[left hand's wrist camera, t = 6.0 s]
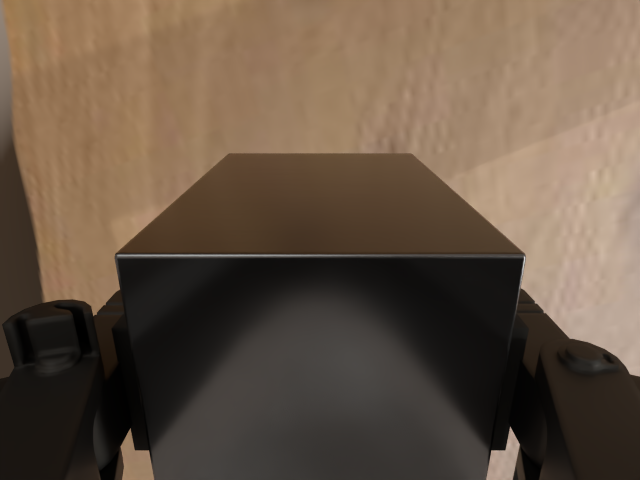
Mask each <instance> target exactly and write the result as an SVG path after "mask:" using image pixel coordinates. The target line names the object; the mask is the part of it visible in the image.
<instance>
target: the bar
mask: <svg viewBox="0 0 640 480" xmlns="http://www.w3.org/2000/svg"><path fill="white" fill-rule="evenodd" d="M525 260H526V256H525V253H524V252H523V251H521V250H520V249H519V248H518V247H517V246H516V245H515V244H513V243H512V242H511V241H510V240H509V239H508V238H507V237H506V236H504V235H503V234H502V233H501V232H500V231H499V230H498V229H496V228H495V227H494V226H493V225H492V224H491V223H490V222H489V221H487V220H486V219H485V218H484V217H483V216H482V215H481V214H479V213H478V212H477V211H476V210H475V209H474V208H473V207H472V206H470V205H469V204H468V203H467V202H466V201H465V200H464V199H463V198H461V197H460V196H459V195H458V194H457V193H456V192H455V191H453V190H452V189H451V188H450V187H449V186H448V185H447V184H446V183H444V182H443V181H442V180H441V179H440V178H439V177H438V176H436V175H435V174H434V173H433V172H432V171H431V170H430V169H429V168H427V167H426V166H425V165H424V164H423V163H422V162H421V161H419V160H418V159H417V158H416V157H415V156H414V155H413V154H228V155H226V156H225V157H224V158H223V159H222V160H221V161H220V162H219V163H217V164H216V165H215V166H214V167H213V168H212V169H211V170H210V171H208V172H207V173H206V174H205V175H204V176H203V177H202V178H200V179H199V180H198V181H197V182H196V183H195V184H194V185H193V186H191V187H190V188H189V189H188V190H187V191H186V192H185V193H184V194H182V195H181V196H180V197H179V198H178V199H177V200H176V201H174V202H173V203H172V204H171V205H170V206H169V207H168V208H167V209H165V210H164V211H163V212H162V213H161V214H160V215H159V216H158V217H156V218H155V219H154V220H153V221H152V222H151V223H150V224H148V225H147V226H146V227H145V228H144V229H143V230H142V231H141V232H139V233H138V234H137V235H136V236H135V237H134V238H133V239H132V240H130V241H129V242H128V243H127V244H126V245H125V246H124V247H122V248H121V249H120V250H119V251H118V252H117V253H116V254H115V262H116V268H117V274H118V279H119V285H120V290H121V296H122V302H123V307H124V313H125V318H126V324H127V329H128V335H129V341H130V346H131V352H132V357H133V363H134V368H135V374H136V380H137V385H138V391H139V396H140V402H141V407H142V413H143V419H144V424H145V430H146V435H147V441H148V447H149V452H150V458H151V463H152V469H153V474H154V480H486V477H487V471H488V466H489V460H490V455H491V449H492V443H493V438H494V432H495V427H496V421H497V416H498V410H499V405H500V399H501V393H502V388H503V382H504V377H505V371H506V366H507V360H508V355H509V349H510V343H511V338H512V332H513V327H514V321H515V316H516V310H517V305H518V299H519V293H520V288H521V282H522V277H523V271H524V266H525Z"/></svg>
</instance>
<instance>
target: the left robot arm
mask: <svg viewBox="0 0 640 480" xmlns="http://www.w3.org/2000/svg"><path fill="white" fill-rule="evenodd" d="M2 326H3V329H4V332H5V336H6V339H7V343H8V346H9V350H10V353H11V356H12V360H13V363H14V369H13V371H12V373H11V374H10V376H9V377H7V378H2V379H0V480H122V476H123V469H124V464H123V457H122V452H121V447H120V446H121V445H122V443H123V441H124V439H125V437H126V435H127V433H128V431H129V430H130V428H131V432H132V438H133V443H134V448H135V450H149V447H148V441H147V435H146V430H145V424H144V419H143V413H142V407H141V402H140V396H139V391H138V385H137V380H136V374H135V368H134V363H133V357H132V352H131V346H130V341H129V335H128V329H127V324H126V318H125V313H124V307H123V302H122V296H121V290H119V291H117V292H116V293H115V294H114V295H113V296H112V297H111V298H110V299H109V300H108V301H107V302H106V305H104V306H103V307H102V308H101V309H100V310H99V311H98V312H97V315H94V316H93V313H92V308H91V306H90V305H89V304H87V303H86V302H84V301H78V300H56V301H51V302H46V303H41V304H38V305H35V306H32V307H29V308H27V309H24V310H22V311H20V312H18V313H17V314H15V315H13V316H11V317H10V318H9V319H8V320H7V321H6V322H4V323H3V324H2ZM510 427H511V428H512V430H513V432H514V434H515V436H516V438H517V440H518V441H519V443H520V447H519V452H518V457H517V462H516V466H515V471H514V476H513V480H640V377H639V376H634V375H630V374H629V372H628V370H627V368H626V367H625V365H624V364H623V363H622V362H621V361H620V360H619V359H618V358H617V357H616V356H614V355H613V354H611V353H610V352H608V351H607V350H605V349H603V348H600V347H598V346H596V345H593V344H591V343H588V342H583V341H579V340H575V339H569V338H568V336H567V335H566V334H565V333H564V332H563V331H562V330H561V329H560V328H559V327H558V326H557V325H556V324H555V323H554V322H553V320H552V319H551V318H550V317H549V316H548V315H547V314H546V313H544V311H543V310H542V309H541V308H540V307H539V306H538V304H535V301H534V300H533V299H532V298H531V297H530V296H529V295H528V294H527V293H526V292H525V291H524V290H523V289H521V288H520V293H519V299H518V305H517V310H516V316H515V321H514V327H513V332H512V338H511V343H510V349H509V355H508V360H507V366H506V371H505V377H504V382H503V388H502V393H501V399H500V405H499V410H498V416H497V421H496V427H495V432H494V438H493V443H492V449H491V450H505V449H506V444H507V439H508V434H509V429H510Z"/></svg>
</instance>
